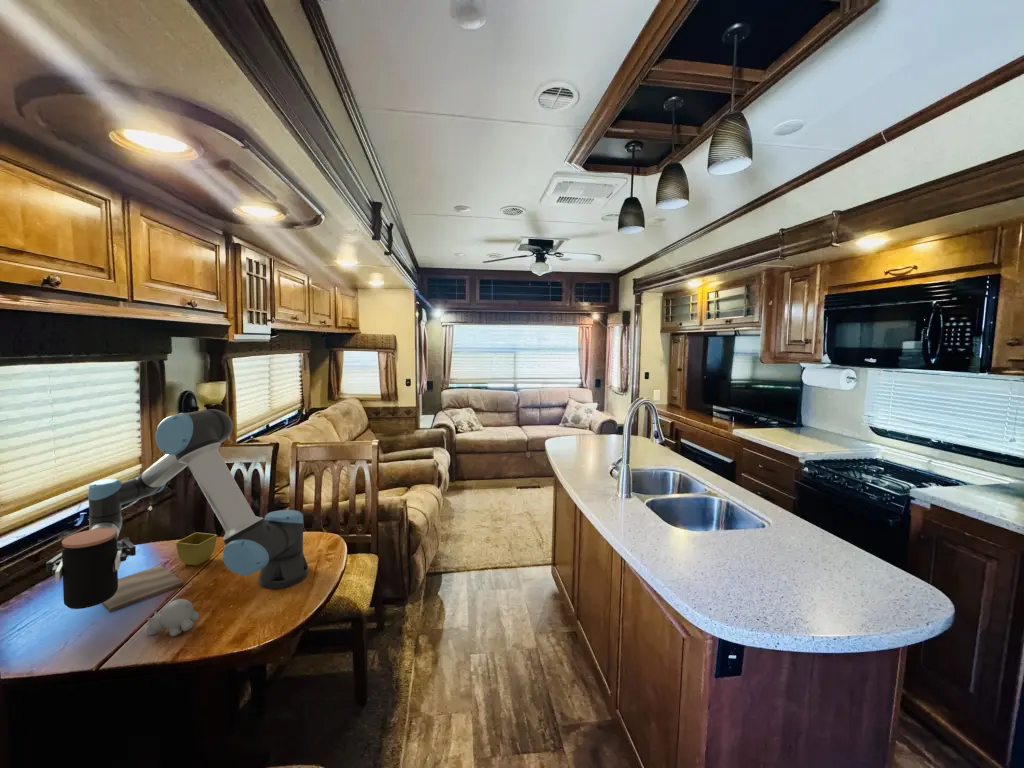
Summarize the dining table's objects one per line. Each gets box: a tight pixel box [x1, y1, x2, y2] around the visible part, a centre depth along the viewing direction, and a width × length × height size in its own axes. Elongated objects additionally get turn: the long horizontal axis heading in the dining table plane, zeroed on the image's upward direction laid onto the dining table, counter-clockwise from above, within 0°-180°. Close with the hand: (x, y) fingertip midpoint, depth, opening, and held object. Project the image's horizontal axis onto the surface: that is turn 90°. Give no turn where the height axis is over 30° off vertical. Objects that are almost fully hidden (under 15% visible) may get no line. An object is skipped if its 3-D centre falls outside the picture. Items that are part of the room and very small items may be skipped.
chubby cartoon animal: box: [143, 598, 200, 638], centre depth 116 cm, size 7×12×8 cm, turn 102°
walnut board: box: [101, 564, 184, 613], centre depth 136 cm, size 18×18×1 cm
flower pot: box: [175, 532, 218, 567], centre depth 153 cm, size 9×9×9 cm
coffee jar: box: [61, 528, 119, 610], centre depth 116 cm, size 11×11×18 cm
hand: (88, 570), depth 113 cm, fingers closed on coffee jar, 11 cm apart
